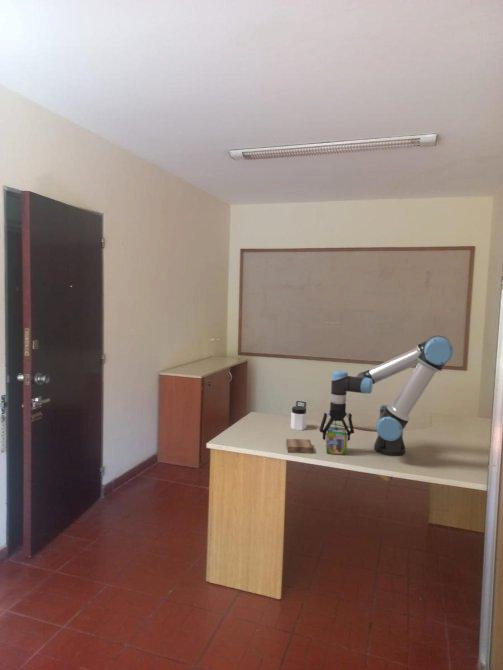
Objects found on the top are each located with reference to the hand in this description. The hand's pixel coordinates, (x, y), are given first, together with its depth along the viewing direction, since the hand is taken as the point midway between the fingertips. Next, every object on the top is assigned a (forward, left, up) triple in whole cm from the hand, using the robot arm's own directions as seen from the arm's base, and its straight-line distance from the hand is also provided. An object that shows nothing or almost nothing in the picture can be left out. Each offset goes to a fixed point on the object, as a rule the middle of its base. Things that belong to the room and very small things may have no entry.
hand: (335, 446), depth 228 cm
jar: (+15, -37, -3) cm, 40 cm away
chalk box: (0, 0, -3) cm, 3 cm away
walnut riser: (+18, -2, -3) cm, 18 cm away
